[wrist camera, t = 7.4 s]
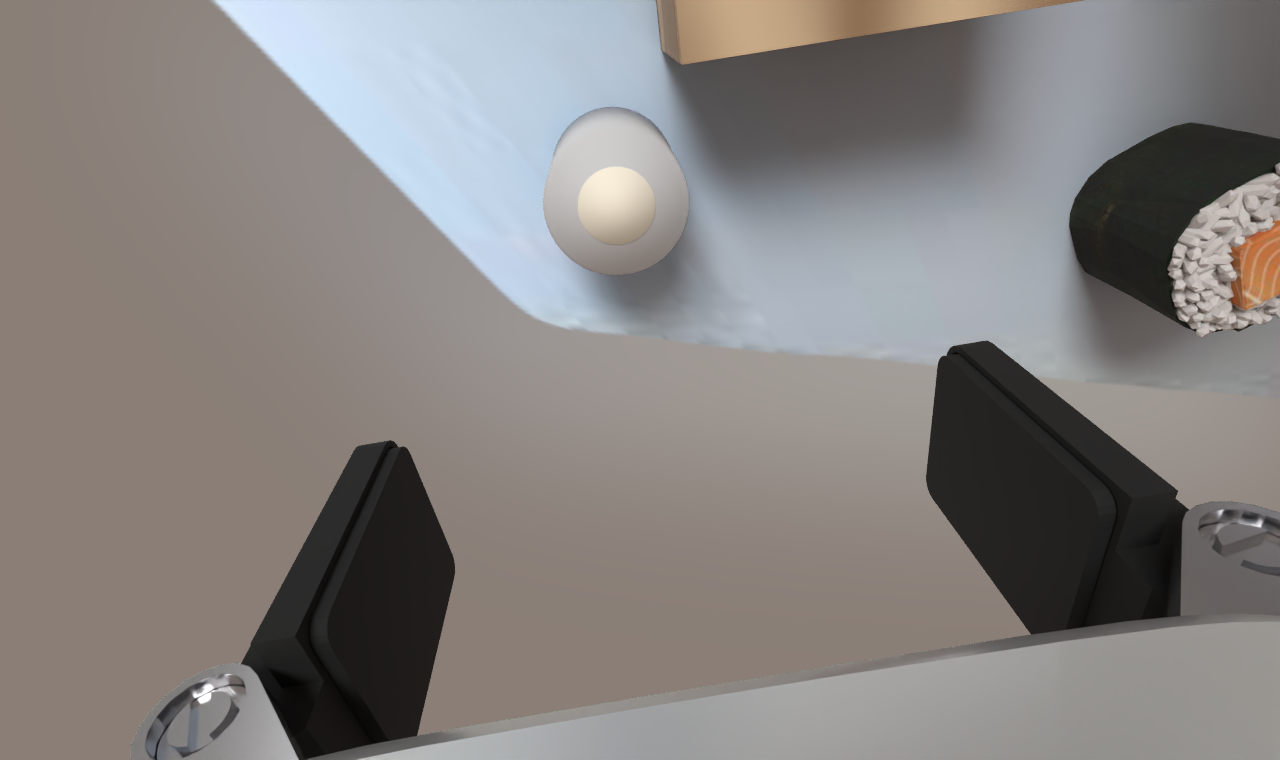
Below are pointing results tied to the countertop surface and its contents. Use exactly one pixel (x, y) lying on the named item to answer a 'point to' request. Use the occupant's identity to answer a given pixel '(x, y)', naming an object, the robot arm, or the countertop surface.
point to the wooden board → (813, 21)
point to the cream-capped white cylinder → (615, 193)
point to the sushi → (1188, 226)
